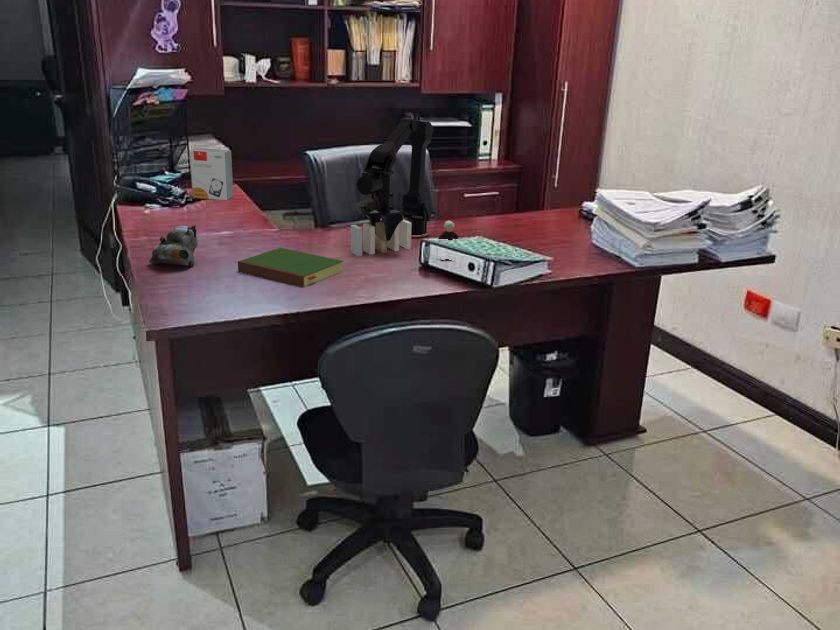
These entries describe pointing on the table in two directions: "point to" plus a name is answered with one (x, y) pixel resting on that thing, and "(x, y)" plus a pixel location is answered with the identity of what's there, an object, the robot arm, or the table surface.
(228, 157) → the hard drive box
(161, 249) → the grey lumpy figure
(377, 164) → the robot arm
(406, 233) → the domino
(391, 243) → the domino
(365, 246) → the domino
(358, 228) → the domino
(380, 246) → the domino
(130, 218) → the table surface
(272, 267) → the hardcover book
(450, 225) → the grandmother figurine
